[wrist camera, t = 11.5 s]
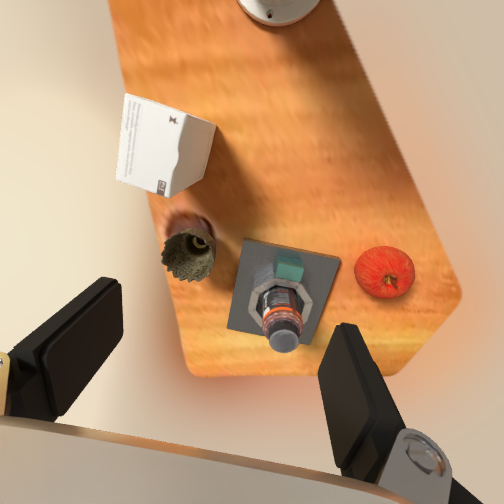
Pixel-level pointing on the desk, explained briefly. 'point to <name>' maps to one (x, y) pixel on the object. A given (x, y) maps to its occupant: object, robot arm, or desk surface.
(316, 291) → the hub plate
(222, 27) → the desk surface
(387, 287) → the apple
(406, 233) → the desk surface
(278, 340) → the supplement bottle
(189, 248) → the cup
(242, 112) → the desk surface
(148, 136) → the skincare box
